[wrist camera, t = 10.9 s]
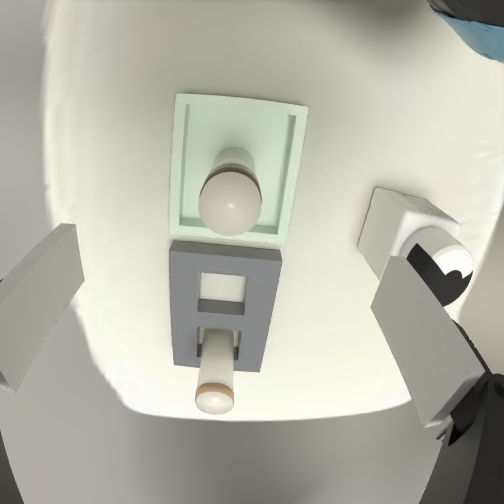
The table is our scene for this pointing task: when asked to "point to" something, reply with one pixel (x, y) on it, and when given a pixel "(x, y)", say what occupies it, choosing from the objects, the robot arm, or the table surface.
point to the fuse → (216, 372)
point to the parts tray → (242, 136)
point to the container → (416, 242)
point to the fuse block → (221, 312)
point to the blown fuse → (231, 194)
